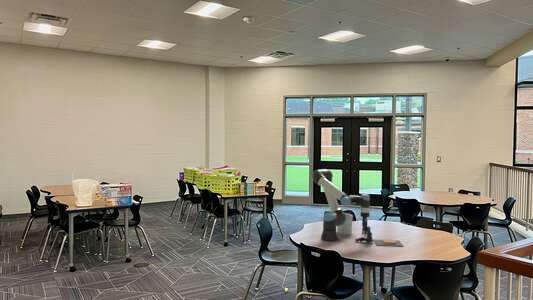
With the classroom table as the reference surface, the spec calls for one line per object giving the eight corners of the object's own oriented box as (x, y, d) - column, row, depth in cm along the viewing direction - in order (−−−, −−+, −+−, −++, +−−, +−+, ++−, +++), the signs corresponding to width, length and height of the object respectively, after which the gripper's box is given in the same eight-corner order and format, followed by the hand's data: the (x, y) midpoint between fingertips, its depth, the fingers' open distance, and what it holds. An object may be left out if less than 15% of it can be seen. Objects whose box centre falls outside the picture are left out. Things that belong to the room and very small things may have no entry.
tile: (384, 241, 332) (396, 242, 330) (382, 239, 342) (394, 239, 340) (384, 243, 332) (396, 244, 330) (382, 240, 342) (394, 241, 340)
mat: (376, 245, 329) (376, 244, 329) (373, 240, 347) (373, 239, 347) (403, 246, 326) (403, 245, 326) (399, 241, 344) (399, 240, 344)
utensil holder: (350, 231, 381) (350, 213, 381) (354, 234, 366) (354, 216, 366) (335, 231, 381) (335, 213, 381) (338, 234, 366) (339, 216, 366)
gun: (351, 225, 342) (368, 221, 339) (356, 244, 341) (373, 240, 339) (352, 226, 339) (369, 222, 337) (356, 245, 339) (374, 241, 336)
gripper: (371, 214, 326) (370, 240, 326) (367, 209, 350) (367, 233, 351) (362, 214, 327) (361, 239, 327) (359, 209, 351) (358, 232, 352)
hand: (364, 236), depth 339 cm, fingers open, 13 cm apart
